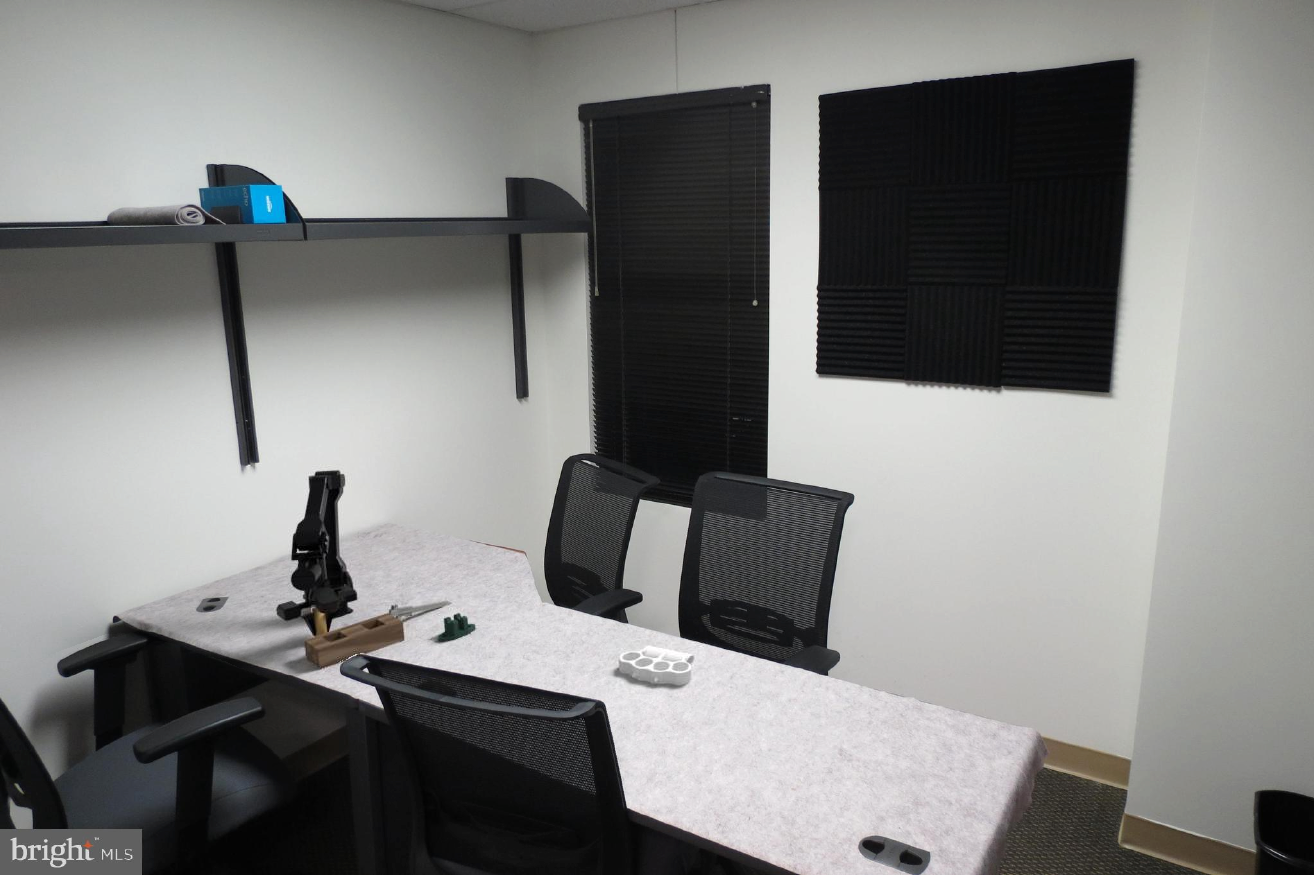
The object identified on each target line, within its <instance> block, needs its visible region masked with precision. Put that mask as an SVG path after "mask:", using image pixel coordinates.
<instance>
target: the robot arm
mask: <svg viewBox="0 0 1314 875" xmlns="http://www.w3.org/2000/svg"><path fill="white" fill-rule="evenodd" d="M345 486H346V476H345V474H344V473H341V471H340V470H339V469H336V470H317V471H315V472H314V475H309V476H308V488H309V490H308V491H309V492H308V496H307V502H306V506H305V512H304V517H303V519H302V520H300V521H299V522H298V523H297V525H296V529H295V532H294V533H293V535H292V544H291V555H290V556H291V558H290V560H291V561H293V562H294V561H295V562H296V561H297V567H296V568H295V570H294V571H293V572H292V574H291V576H290V577H291V578H290V582H291V585H292V587H293V588H294V589H295V590H298V591H301V592H303V594H302V599H303V600H304V601H303V602H299V603H296V602H295V601H293V600H289V601H287V602H282V603H279V604H278V605H277V607H276V610H275V611H276V616H278V617H279V618H280V619H282V620H283V621H285V622H288V621H289V622H290V621H292V620H295V619H299V618H301V619H302V620H303V621H304V623H305V624H306V626H307V627H308V629H309V631H310V633H311V634H312V637H315V636H316V628H315V623H314V615H315V614H313V613H312V608H314V607H316V608H317V609H318V611H319V612H320V613H325V616H326V625H327V632H330V630H331V626H332V622H333V618H338V617H341V616H344V615H348V614H350V613H353V612H354V609H353V608H351V607H350V606H349V603H352V602H356V601H357V600H358V592H357V590H356V589H354V581H353V578H352V576H351V574H350V573H349V571H347V569H348V567H347V564H346V562H345V561H344V560H343V558H342V557H341V552H340V529H339V526H340V525H339V524H340V523H339V501H340V499H341V498H342V496H343V494H344V487H345Z"/></svg>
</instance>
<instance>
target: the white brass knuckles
mask: <svg viewBox="0 0 1314 875" xmlns="http://www.w3.org/2000/svg"><path fill="white" fill-rule="evenodd" d="M694 659H695V656H694V654H691V653H684V652H680V651H675V650H672V649H669V648H668V649H666V648H661V647H655V646H652V645H647V646H645V647H644V648H643V649H642V650H639V651H637V650H636V651H635V650H633V651H626V652H623V653H622V654H620V655H619V657H618V670H619V672H620V673H621V674H625V675H629V676H631V677H632V678H633V679H634V680H636V681H640V682H641V681H642V682H643V681H644V682H648V683H650V684H653V685H664V684H665V685H667V684H669V685H674V686H683V685H687V684H689V683H690V682H691V681H692V680H693V679H692V678H693V675H692V670H693V669H692V668H693V667H692V665H693V664H694Z"/></svg>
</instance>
